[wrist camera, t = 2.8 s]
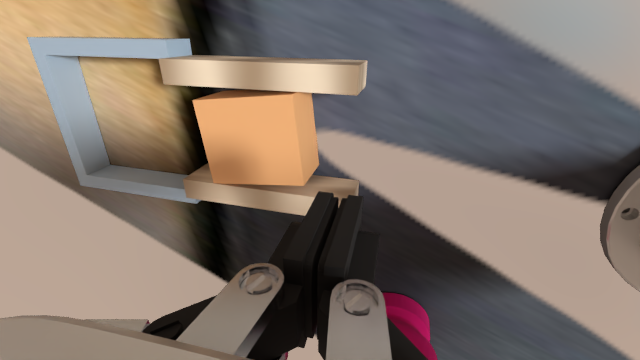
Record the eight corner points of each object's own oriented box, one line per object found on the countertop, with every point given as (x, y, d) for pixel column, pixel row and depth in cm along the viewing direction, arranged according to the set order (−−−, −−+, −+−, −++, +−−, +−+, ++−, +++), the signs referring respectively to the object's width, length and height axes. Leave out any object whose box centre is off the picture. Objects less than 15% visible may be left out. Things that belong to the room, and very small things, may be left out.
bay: (189, 38, 23) (165, 39, 20) (213, 190, 28) (196, 203, 26) (59, 36, 26) (26, 37, 23) (104, 174, 31) (80, 185, 29)
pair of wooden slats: (367, 60, 20) (359, 65, 17) (357, 198, 25) (349, 222, 21) (192, 55, 23) (158, 58, 20) (211, 179, 28) (186, 197, 24)
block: (311, 84, 22) (292, 94, 19) (319, 164, 24) (304, 185, 21) (224, 90, 24) (192, 100, 20) (240, 163, 26) (213, 183, 23)
